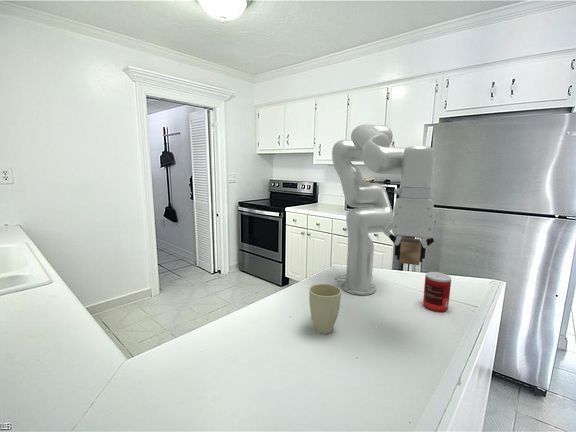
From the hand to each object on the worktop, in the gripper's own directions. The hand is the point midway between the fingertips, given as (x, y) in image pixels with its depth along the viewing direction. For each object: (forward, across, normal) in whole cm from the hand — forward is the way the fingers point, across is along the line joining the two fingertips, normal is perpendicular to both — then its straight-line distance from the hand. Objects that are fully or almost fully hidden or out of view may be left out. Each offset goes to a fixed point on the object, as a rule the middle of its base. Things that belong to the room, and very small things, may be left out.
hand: (409, 258), depth 81 cm
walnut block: (+1, 0, 0) cm, 1 cm away
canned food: (+22, +10, +19) cm, 31 cm away
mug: (+22, -22, -7) cm, 32 cm away
